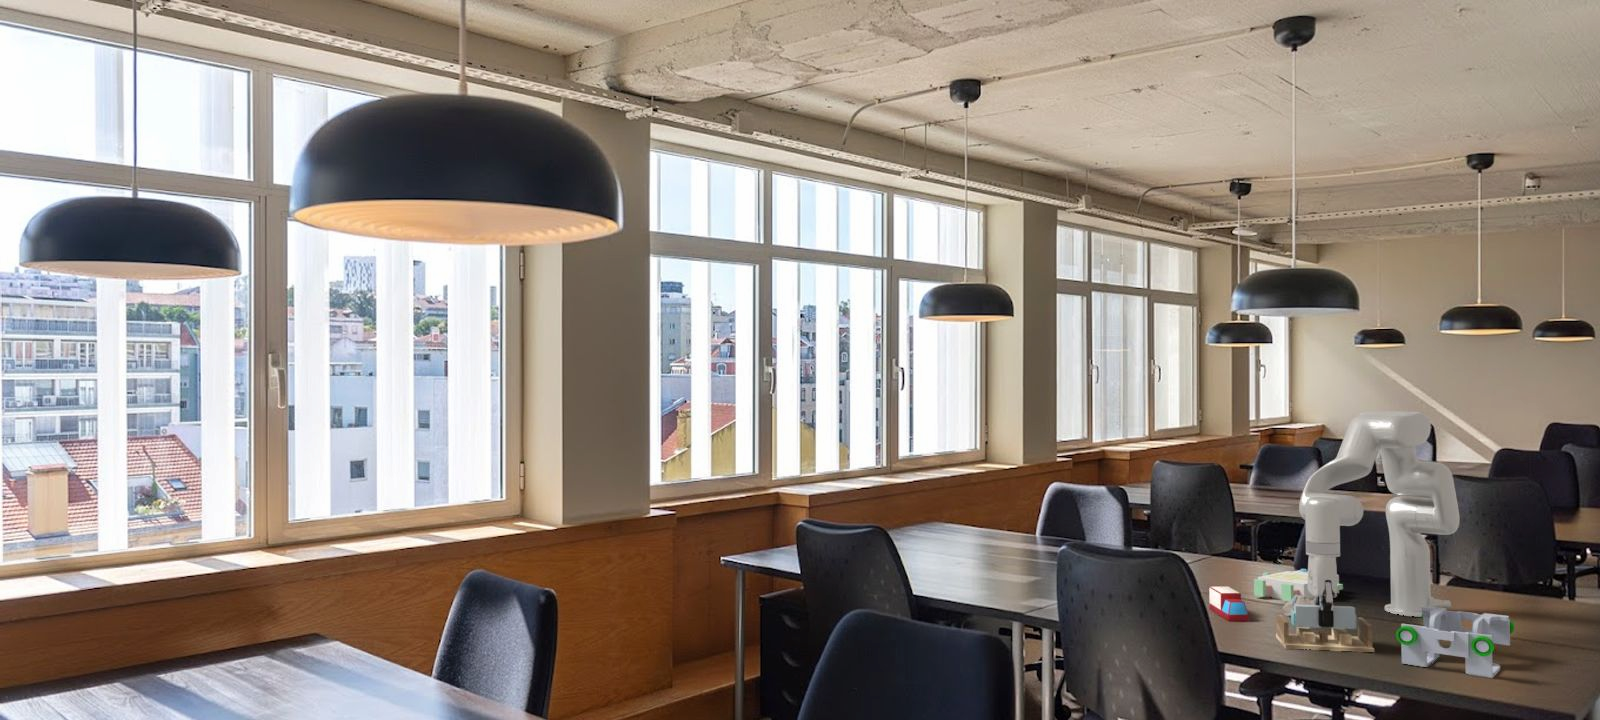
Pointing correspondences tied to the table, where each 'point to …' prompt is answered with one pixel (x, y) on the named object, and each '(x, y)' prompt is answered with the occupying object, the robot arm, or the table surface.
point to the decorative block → (1285, 585)
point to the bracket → (1455, 639)
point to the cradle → (1325, 638)
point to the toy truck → (1228, 604)
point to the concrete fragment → (1297, 603)
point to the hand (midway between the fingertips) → (1324, 623)
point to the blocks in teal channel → (1310, 616)
